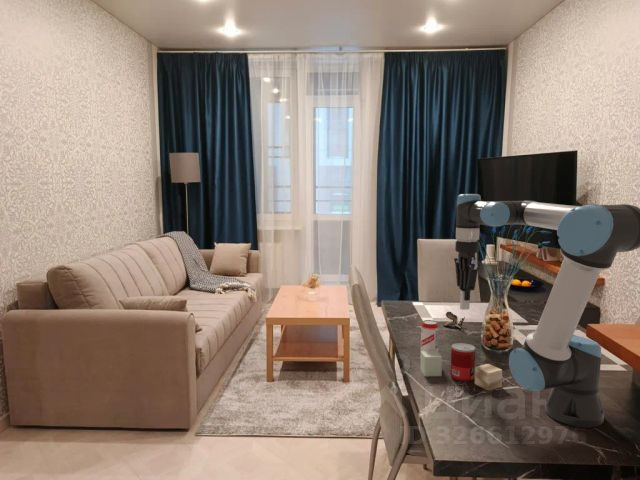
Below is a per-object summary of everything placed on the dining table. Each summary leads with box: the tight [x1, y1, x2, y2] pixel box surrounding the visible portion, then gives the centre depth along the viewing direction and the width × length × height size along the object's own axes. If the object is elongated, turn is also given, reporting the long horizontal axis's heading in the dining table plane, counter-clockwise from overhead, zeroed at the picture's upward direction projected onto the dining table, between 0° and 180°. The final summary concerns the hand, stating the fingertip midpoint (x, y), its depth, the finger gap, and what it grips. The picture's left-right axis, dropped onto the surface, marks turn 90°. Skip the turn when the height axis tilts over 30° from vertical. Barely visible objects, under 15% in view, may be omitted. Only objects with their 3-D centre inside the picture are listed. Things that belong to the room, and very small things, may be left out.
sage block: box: [419, 350, 443, 377], centre depth 172 cm, size 6×6×7 cm
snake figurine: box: [442, 311, 466, 329], centre depth 227 cm, size 8×7×9 cm
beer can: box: [419, 319, 440, 361], centre depth 180 cm, size 6×6×16 cm
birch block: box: [474, 363, 503, 392], centre depth 162 cm, size 6×6×6 cm
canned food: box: [450, 342, 476, 382], centre depth 168 cm, size 8×8×11 cm
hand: (464, 308), depth 166 cm, fingers closed
